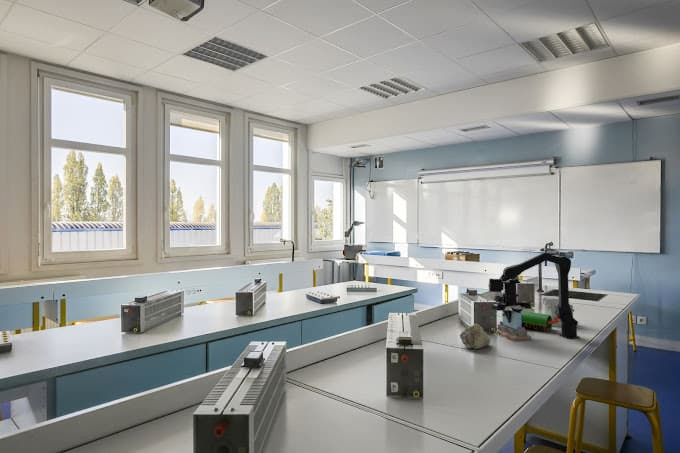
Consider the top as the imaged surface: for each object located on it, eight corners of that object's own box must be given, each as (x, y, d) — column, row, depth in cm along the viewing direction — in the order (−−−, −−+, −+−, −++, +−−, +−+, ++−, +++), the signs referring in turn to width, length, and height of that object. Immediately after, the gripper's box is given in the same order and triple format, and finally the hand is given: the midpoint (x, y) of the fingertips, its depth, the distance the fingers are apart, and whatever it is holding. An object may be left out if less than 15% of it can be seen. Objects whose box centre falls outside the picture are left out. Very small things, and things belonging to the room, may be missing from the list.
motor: (514, 327, 218) (554, 333, 204) (515, 310, 219) (555, 315, 205) (521, 326, 225) (561, 332, 211) (522, 310, 226) (561, 315, 212)
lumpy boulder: (498, 351, 184) (476, 345, 177) (477, 354, 193) (456, 349, 185) (494, 326, 190) (473, 320, 183) (475, 331, 198) (454, 325, 191)
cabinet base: (530, 339, 196) (530, 327, 197) (512, 341, 194) (512, 329, 195) (506, 329, 216) (505, 319, 216) (489, 331, 214) (488, 320, 214)
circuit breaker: (576, 325, 220) (575, 298, 220) (550, 326, 220) (549, 298, 221) (569, 322, 228) (568, 295, 228) (543, 323, 228) (542, 296, 228)
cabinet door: (521, 329, 199) (520, 313, 199) (515, 330, 198) (515, 313, 198) (506, 324, 211) (506, 308, 211) (501, 324, 210) (500, 309, 210)
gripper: (516, 288, 215) (518, 318, 214) (485, 291, 211) (486, 320, 211) (530, 291, 204) (532, 322, 203) (497, 294, 200) (498, 325, 200)
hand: (511, 322), depth 205 cm, fingers closed on cabinet door, 2 cm apart
